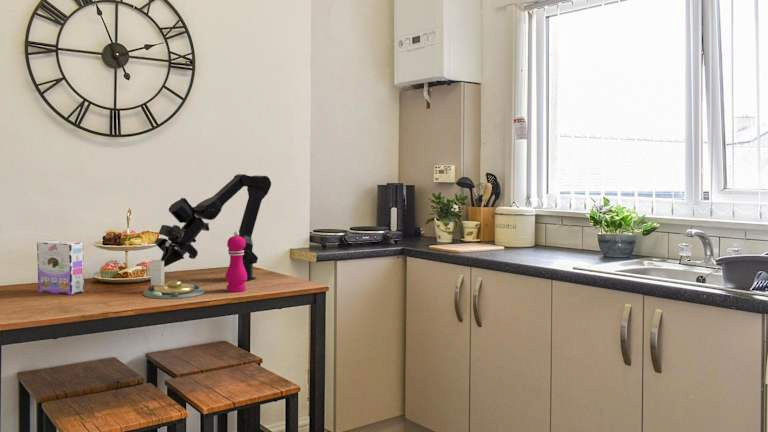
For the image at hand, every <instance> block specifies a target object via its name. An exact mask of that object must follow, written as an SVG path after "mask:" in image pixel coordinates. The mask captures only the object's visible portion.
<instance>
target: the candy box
mask: <svg viewBox="0 0 768 432" xmlns="http://www.w3.org/2000/svg"><path fill="white" fill-rule="evenodd" d="M36 249H37V250H36V251H37V252H36V253H37V284H38V285H37V286H38V287H37V288H38V290H37V291H38V292H39V293H46V294H47V293H48V294H49V293H50V294H60V295H61V294H62V295H76V294H81V293H84V292H85V291H84V290H85V286H84V284H85V281H84V280H85V279H84V277H85V276H84V274H85V273H84V271H85V270H84V241H83V242H81V241H80V242H79V241H65V240H42V241H37V242H36Z"/></svg>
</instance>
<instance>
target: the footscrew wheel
mask: <svg viewBox="0 0 768 432" xmlns="http://www.w3.org/2000/svg"><path fill="white" fill-rule="evenodd" d="M194 285H195V284H191V283H182V281H181V280H169V281H167V282H166V283H165V267H164V261H162V260H161V259H151V260H150V286H155V287H154V291H156V292H160V293H161V294H171V293H172V292H178V294H182V293H188V292H192V291H194Z"/></svg>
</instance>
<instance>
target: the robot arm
mask: <svg viewBox="0 0 768 432" xmlns="http://www.w3.org/2000/svg"><path fill="white" fill-rule="evenodd" d="M244 187H246V191H247V195H248V199H247V201H246V205H245V209H244V211H243V216H242V219H241V223H240V225H239V229H238V232H239V236H241V237H243V238H244V240H245V242H246V245H245V247H244V249H243V250H244V255H243V258H242V259H243V265H244V268H245V270H246V273H247V280H246V282H247V281H251V280H255V279H257V276H254V275H253V274H254V264H257V262H258V259H259V257H258V256H257V255H256V254H255V253H254V251H253V247H254V245H253V244H254V243H253V239H252V236H253V232H254V229H255V225H256V223H257V218H258V216H259V212H260V207H261V205H262V201H263V199H264V198H265V197H266V196H267V195H268V194H269V192H270V189H271V188H272V181H271V179H270V178H269V176H267V175H246V174H241V173H237V174H236V175H234V176H233V178H232V179H230V181H228V182H227V183H226V184H225V185H224V186H223V187H221V188H220V190H217V192H216V193H215V194H214V195H212V196H211V197H209V198H206V199H204V200H201V202H199V203H198V204H196V205H195V206H192V205H191V204H190V203H189V201H188V200H187V199H186V197H181V198H180V199H179V200H177V201H175V202H173V203H171V205H170V206H169V208H168V212H169V213H170V214H171V215H172V216H173V218H175V220H177V222H179V224H183V226H182V227H181V226H179V225H177V224H173V225H172V226H171V225H167V224H162V225H161V227H160V229H159V231H158V235H161V236H162V235H163V236H164V237H167V238H164V237H157V239H156V240H155V241H153V243H154V244H155V245H156V246H157V247H158V248H159V249H160V250H161V252H163V253H162V255H161V258H160V260H162V261H164V268H165V267H168V266H170V265H171V264H173V263H176V262H178V261H181V260H184V259H185V257H184V256H185V255H186V254H188V258H189V259H191V260H195V259H196V258H197V257H198V255H199V254H198V253H199V252H198V250H197V249H196V248H195V247H194V246H193V245H192V243H196V242H197V239H196V238H197V237H198V235H199V234H200V233H201V232H202V231H205V232H209V231H210V227H209V225H210V224H209V223H208V222H205V221H204V220H208V221H213V220H215V219H216V218H217V216H219V214H221V212H222V209H223V206H225V204H226V203H227V202H229V200H231V199H232V198H233V197H234V196H235V195H237V193H238V192H240V191H241V190H242V188H244ZM229 250H230V249H229V248H228V254H229Z"/></svg>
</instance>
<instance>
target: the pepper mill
mask: <svg viewBox="0 0 768 432" xmlns="http://www.w3.org/2000/svg"><path fill="white" fill-rule="evenodd" d="M226 245H227V248H228V250H229V249H230V250H229V253H228V255H229V257H230V258H229V265H228V268H227V270H226V272H225V279H224V280H225V281H226V283H228V284H227V285H226V291H227V292H229V293H242V292H245V291H246V290H247V288H246V287H247V285H246V284H245V283H246V282H247V281H246V280H247V273H246V270H245V268H244V265H243V259H242V258H243V255H244V250H243V249H244V247H245V245H246V242H245V240H244V238H243V237H241V236H239V231H237V230H235V231H234V232H233V236H230V237H229V238H228V240H227V243H226Z"/></svg>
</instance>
